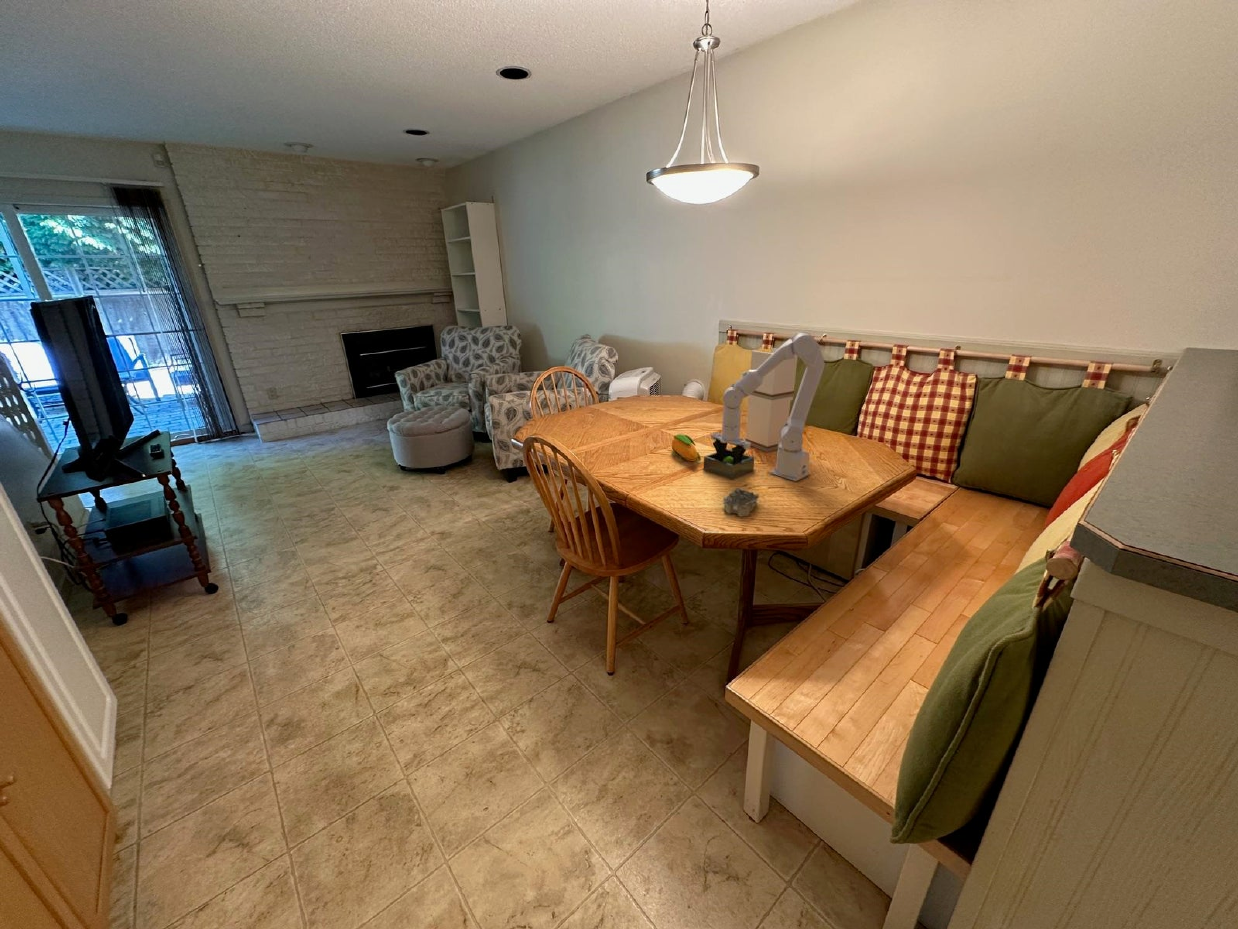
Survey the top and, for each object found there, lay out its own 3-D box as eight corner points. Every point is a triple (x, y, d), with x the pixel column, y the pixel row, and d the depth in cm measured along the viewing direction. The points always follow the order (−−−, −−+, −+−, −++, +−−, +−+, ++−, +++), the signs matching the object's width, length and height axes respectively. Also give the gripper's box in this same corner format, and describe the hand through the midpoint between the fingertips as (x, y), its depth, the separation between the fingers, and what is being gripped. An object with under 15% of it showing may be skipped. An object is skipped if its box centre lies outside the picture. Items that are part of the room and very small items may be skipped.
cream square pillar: (787, 446, 179) (798, 351, 166) (766, 451, 174) (775, 354, 161) (765, 438, 188) (773, 348, 175) (744, 443, 183) (751, 350, 171)
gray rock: (745, 519, 127) (746, 505, 125) (719, 511, 131) (720, 498, 130) (760, 504, 135) (762, 490, 133) (735, 497, 139) (736, 484, 137)
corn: (685, 428, 177) (707, 445, 159) (686, 447, 180) (708, 466, 162) (667, 431, 176) (686, 448, 158) (668, 450, 179) (687, 470, 161)
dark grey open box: (753, 469, 158) (754, 457, 157) (731, 479, 152) (732, 465, 150) (725, 460, 167) (726, 448, 165) (703, 469, 160) (704, 456, 158)
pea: (737, 468, 159) (737, 456, 157) (729, 471, 156) (730, 459, 155) (727, 464, 161) (728, 453, 160) (719, 467, 159) (720, 456, 158)
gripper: (705, 422, 156) (704, 461, 161) (742, 432, 146) (739, 473, 151) (719, 418, 160) (717, 456, 165) (755, 427, 150) (752, 467, 155)
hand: (728, 464), depth 158 cm, fingers open, 5 cm apart
